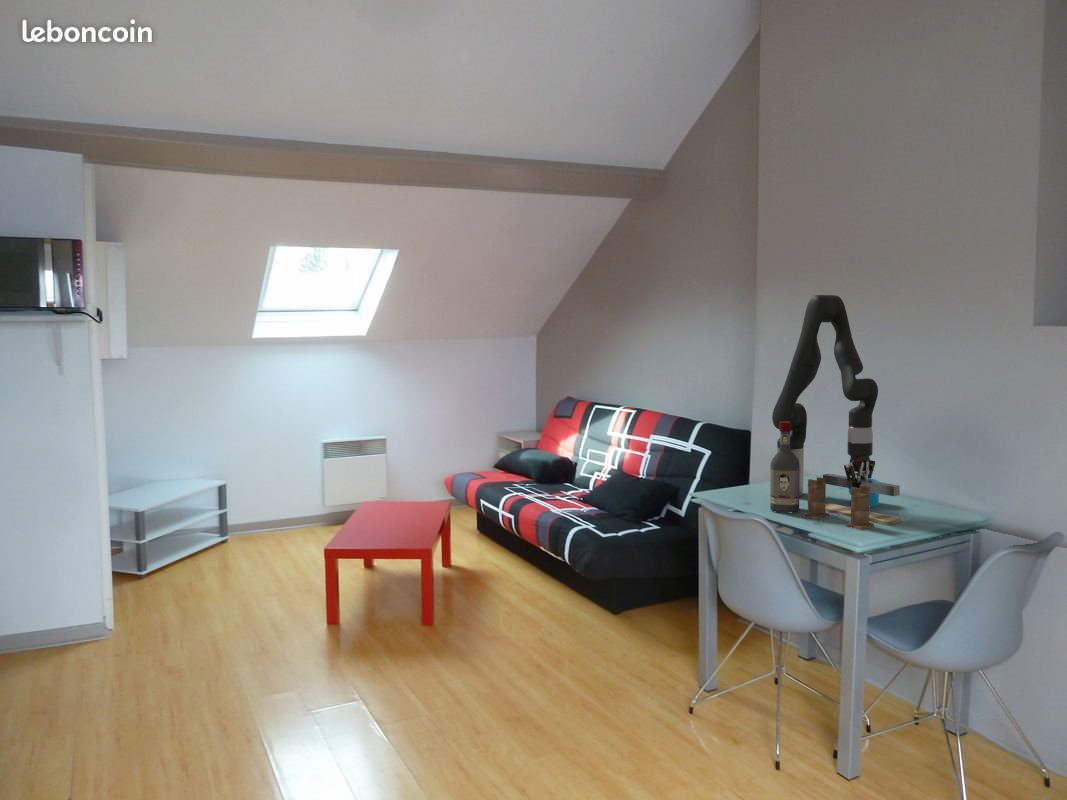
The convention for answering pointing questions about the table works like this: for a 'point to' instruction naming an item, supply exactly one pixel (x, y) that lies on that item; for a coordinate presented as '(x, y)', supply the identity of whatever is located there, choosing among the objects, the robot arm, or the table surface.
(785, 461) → the liquor
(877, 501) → the mug
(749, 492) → the table surface
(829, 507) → the mat
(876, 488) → the rail
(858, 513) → the post
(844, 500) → the table surface
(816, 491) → the post
